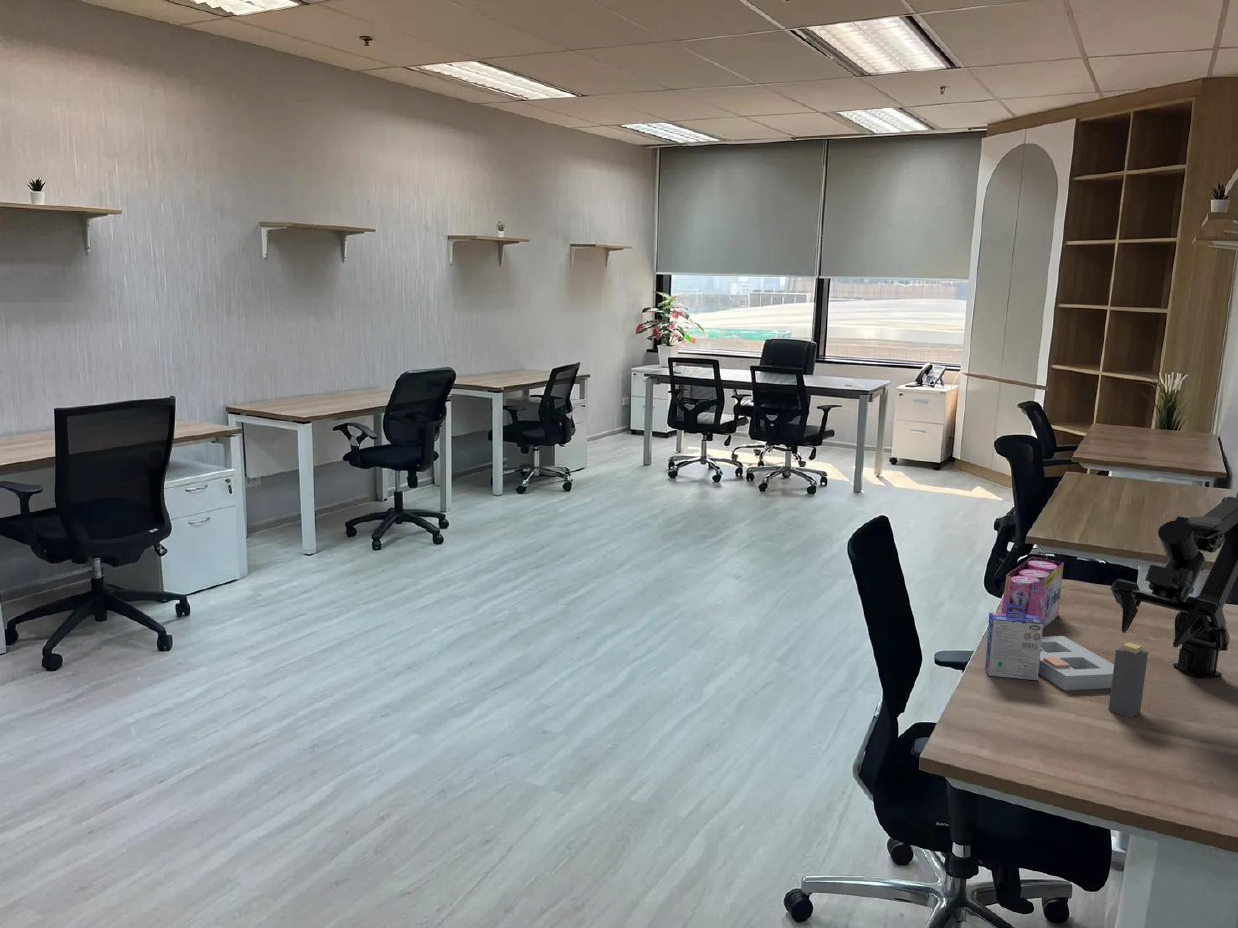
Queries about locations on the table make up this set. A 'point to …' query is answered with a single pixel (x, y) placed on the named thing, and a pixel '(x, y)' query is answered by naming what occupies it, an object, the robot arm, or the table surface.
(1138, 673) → the plug
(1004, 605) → the gum box
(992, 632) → the ink cartridge box
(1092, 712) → the table surface
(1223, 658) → the table surface
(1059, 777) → the table surface
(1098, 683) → the socket panel
